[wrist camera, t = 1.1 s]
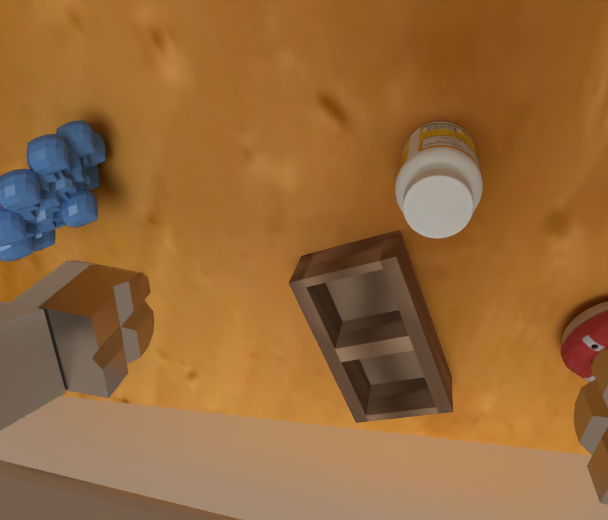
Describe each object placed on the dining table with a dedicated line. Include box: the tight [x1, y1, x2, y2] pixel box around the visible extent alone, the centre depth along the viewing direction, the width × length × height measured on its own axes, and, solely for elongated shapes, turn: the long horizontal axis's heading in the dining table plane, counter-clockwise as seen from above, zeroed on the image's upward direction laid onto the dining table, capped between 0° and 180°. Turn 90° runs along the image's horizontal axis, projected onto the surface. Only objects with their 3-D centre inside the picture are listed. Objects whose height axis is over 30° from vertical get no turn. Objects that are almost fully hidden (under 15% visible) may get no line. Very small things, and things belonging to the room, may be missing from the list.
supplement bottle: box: [395, 121, 483, 238], centre depth 32 cm, size 5×5×10 cm
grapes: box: [0, 121, 106, 262], centre depth 38 cm, size 12×7×12 cm, turn 151°
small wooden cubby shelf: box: [289, 230, 453, 423], centre depth 42 cm, size 9×16×4 cm, turn 23°
